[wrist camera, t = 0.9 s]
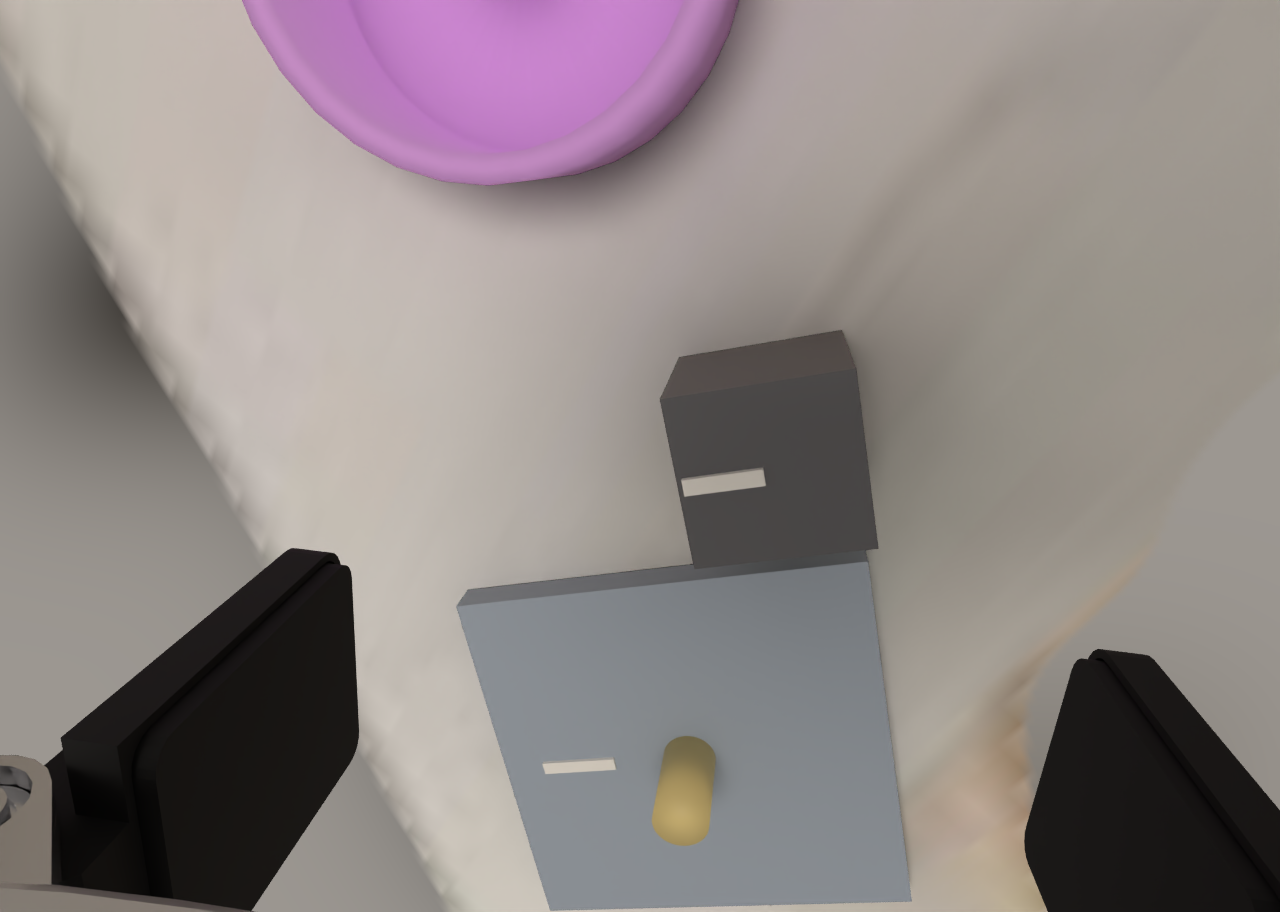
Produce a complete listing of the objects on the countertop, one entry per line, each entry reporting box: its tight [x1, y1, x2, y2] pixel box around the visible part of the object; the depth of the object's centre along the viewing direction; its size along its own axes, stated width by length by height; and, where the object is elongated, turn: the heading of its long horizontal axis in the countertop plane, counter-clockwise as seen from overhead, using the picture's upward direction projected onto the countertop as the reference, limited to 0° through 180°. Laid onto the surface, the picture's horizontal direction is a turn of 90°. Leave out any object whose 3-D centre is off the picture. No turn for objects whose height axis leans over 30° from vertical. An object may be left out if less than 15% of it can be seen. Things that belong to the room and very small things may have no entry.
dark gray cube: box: [660, 330, 878, 569], centre depth 31 cm, size 6×6×6 cm
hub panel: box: [456, 550, 912, 911], centre depth 37 cm, size 18×18×6 cm
